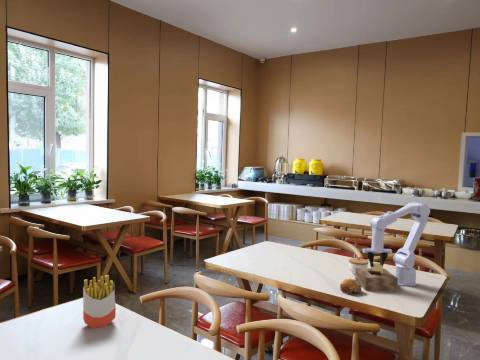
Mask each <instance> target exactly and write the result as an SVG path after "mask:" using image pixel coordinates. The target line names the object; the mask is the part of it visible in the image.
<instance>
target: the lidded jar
mask: <svg viewBox="0 0 480 360" xmlns="http://www.w3.org/2000/svg"><path fill="white" fill-rule="evenodd" d="M348 268H349V271H350V272H351V273H352V274H353V275H354V276H355V274H356V268H369V260H367V259H364V258H360V257H353V258H352V257H350V258H349V259H348Z"/></svg>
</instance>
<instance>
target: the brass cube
mask: <svg viewBox="0 0 480 360" xmlns="http://www.w3.org/2000/svg"><path fill="white" fill-rule="evenodd" d="M370 268H371V269H372V270H373V271H383V269H384V265H382V264H380V262H373V267H371V266H370Z"/></svg>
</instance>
